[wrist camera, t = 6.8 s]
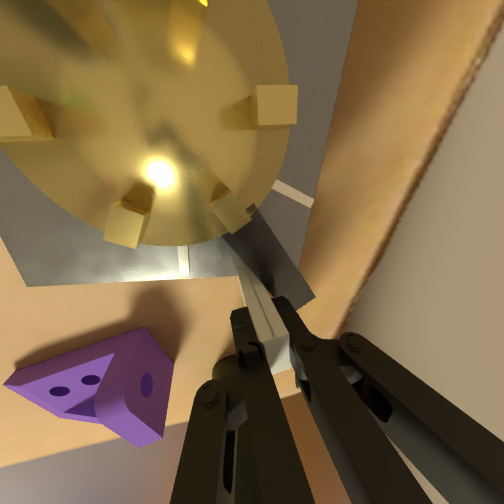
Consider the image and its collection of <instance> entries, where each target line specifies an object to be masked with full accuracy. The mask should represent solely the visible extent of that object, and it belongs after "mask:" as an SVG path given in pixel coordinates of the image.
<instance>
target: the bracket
mask: <svg viewBox="0 0 504 504" xmlns="http://www.w3.org/2000/svg"><path fill="white" fill-rule="evenodd" d="M173 369H174V364H173V362H172V361H171V360H170V358H169V357H168V356H167V354H166V353H165V352H164V351H163V349H162V348H161V347H160V345H159V344H158V343H157V341H156V340H155V339H154V337H153V336H152V335H151V334H150V332H149V331H148V330H147V328H146V327H142V328H139V329H136V330H133V331H130V332H127V333H124V334H121V335H118V336H116V337H113V338H110V339H107V340H104V341H101V342H98V343H95V344H92V345H89V346H86V347H84V348H81V349H78V350H75V351H72V352H69V353H66V354H63V355H60V356H57V357H54V358H51V359H49V360H46V361H43V362H40V363H37V364H34V365H31V366H28V367H25V368H22V369H19V370H16V371H15V372H14V373H13V374H12V375H11V376H10V377H9V378H8V379H7V380H6V382H5V383H4V384H3V385H4V386H6V387H7V388H9V389H11V390H13V391H14V392H16V393H18V394H20V395H21V396H23V397H25V398H26V399H28V400H30V401H32V402H33V403H35V404H37V405H39V406H40V407H42V408H44V409H45V410H47V411H49V412H51V413H52V414H54V415H56V416H58V417H59V418H65V419H72V420H78V421H85V422H91V423H98V424H103V425H104V426H106V427H107V428H109V429H110V430H112V431H113V432H115V433H116V434H118V435H120V436H121V437H123V438H124V439H126V440H127V441H129V442H130V443H132V444H133V445H135V446H136V447H138V448H140V447H142V446H145V445H147V444H150V443H152V442H155V441H157V440H160V439H162V438H163V433H164V427H165V421H166V414H167V408H168V401H169V395H170V388H171V382H172V375H173Z"/></svg>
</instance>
